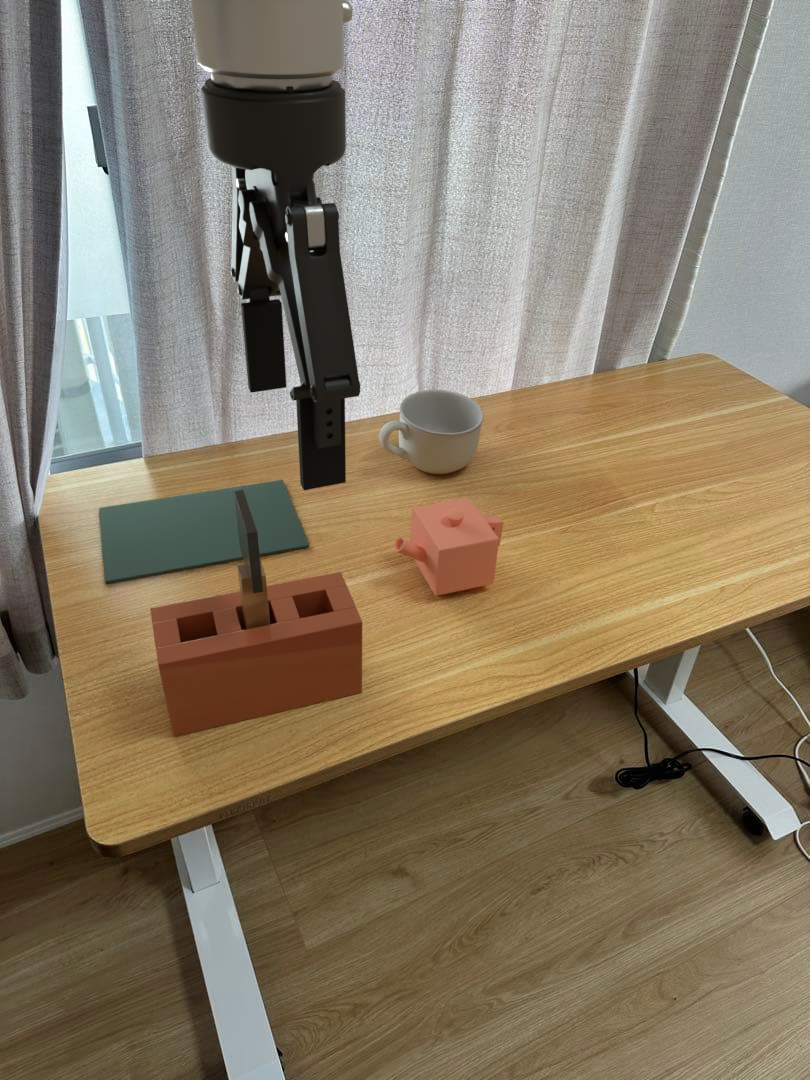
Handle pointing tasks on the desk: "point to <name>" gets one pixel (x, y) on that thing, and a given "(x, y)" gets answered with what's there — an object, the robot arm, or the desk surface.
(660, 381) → the desk surface
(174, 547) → the mat
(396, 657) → the desk surface
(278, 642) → the holder
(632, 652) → the desk surface
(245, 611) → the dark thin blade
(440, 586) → the pink cube teapot
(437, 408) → the teacup
